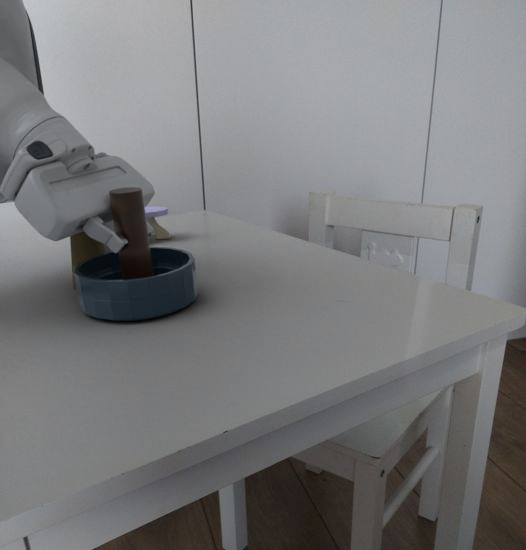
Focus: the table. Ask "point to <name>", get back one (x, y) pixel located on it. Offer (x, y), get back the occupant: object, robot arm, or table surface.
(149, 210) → the toy table
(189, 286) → the bowl
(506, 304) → the table surface
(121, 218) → the brown wooden cylinder
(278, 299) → the table surface
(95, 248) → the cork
